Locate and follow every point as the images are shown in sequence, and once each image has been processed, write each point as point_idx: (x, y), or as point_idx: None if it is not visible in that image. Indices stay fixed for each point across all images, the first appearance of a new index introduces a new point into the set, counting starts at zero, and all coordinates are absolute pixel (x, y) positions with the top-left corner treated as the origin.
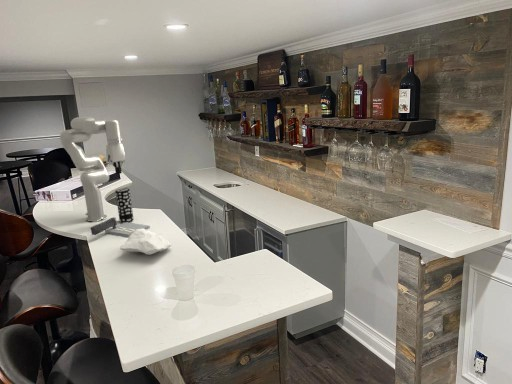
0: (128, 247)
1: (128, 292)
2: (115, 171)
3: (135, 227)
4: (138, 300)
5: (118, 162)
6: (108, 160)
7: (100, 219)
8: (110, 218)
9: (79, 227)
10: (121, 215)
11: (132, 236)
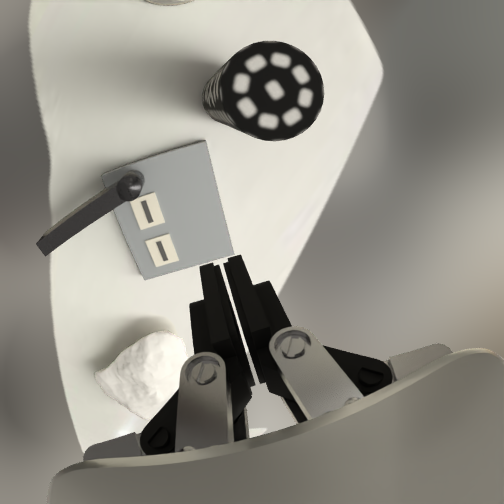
0: (107, 394)
1: (92, 423)
2: (190, 307)
3: (192, 234)
4: (99, 433)
5: (331, 395)
6: (78, 494)
7: (169, 4)
8: (120, 183)
9: (76, 28)
10: (207, 108)
11: (125, 376)
